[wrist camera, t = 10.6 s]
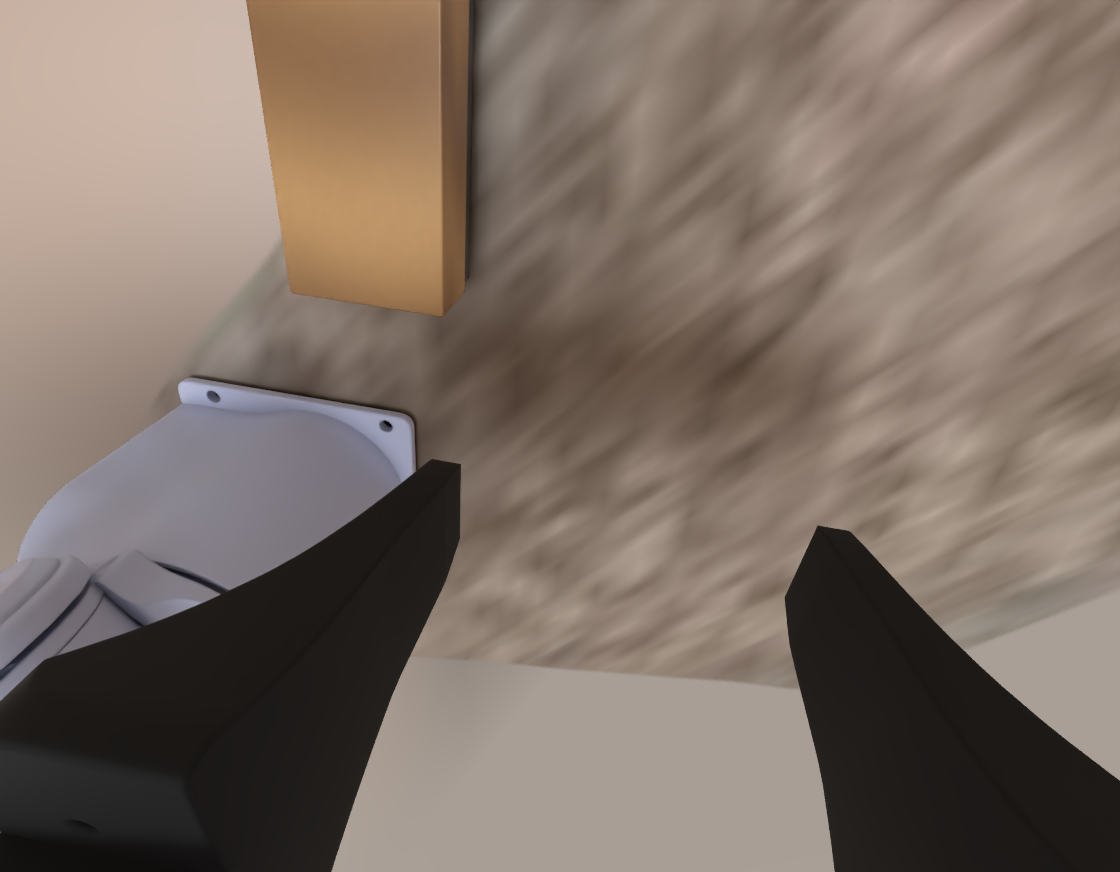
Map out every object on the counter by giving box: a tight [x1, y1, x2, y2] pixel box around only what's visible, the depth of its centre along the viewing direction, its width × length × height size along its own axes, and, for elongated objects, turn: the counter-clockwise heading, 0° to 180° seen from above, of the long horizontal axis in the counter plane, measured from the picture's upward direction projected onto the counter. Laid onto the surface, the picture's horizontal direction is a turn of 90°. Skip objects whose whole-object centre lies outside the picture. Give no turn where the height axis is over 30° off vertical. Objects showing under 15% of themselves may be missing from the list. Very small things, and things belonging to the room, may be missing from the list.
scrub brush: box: [246, 0, 475, 317], centre depth 15 cm, size 11×4×4 cm, turn 174°
